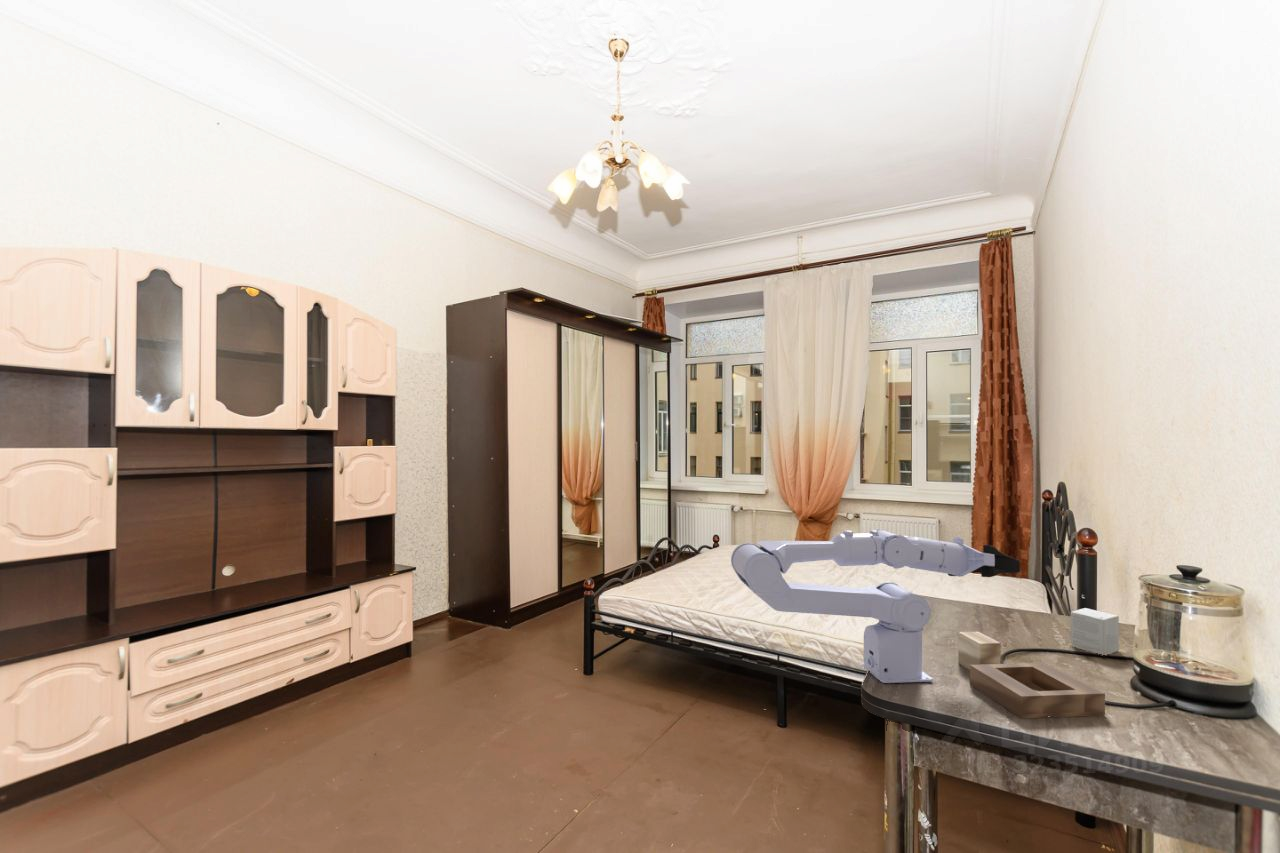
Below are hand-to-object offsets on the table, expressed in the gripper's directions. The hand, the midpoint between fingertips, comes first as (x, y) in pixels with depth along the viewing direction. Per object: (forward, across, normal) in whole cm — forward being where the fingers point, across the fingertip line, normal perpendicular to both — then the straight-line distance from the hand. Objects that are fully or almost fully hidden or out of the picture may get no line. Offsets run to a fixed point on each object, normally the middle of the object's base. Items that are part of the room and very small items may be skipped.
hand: (1002, 566), depth 106 cm
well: (0, -6, +22) cm, 22 cm away
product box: (+30, +12, +13) cm, 35 cm away
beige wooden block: (-1, +5, +19) cm, 20 cm away
